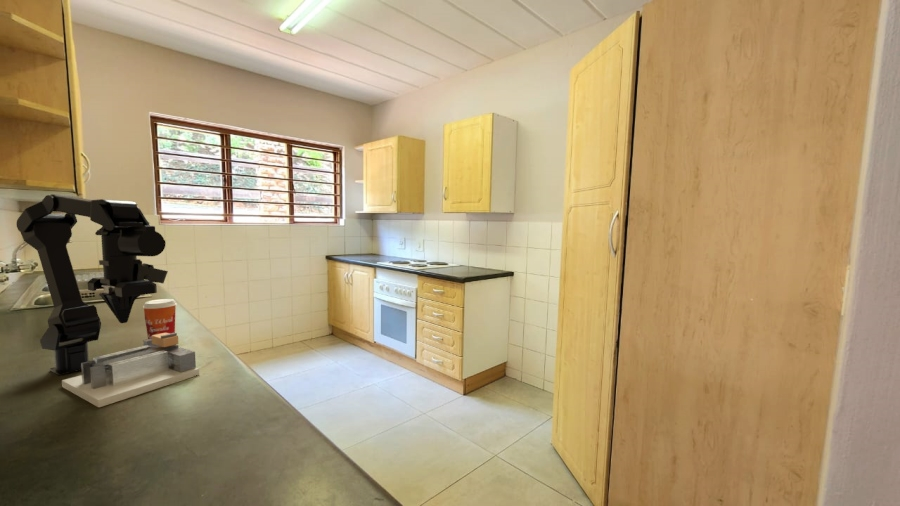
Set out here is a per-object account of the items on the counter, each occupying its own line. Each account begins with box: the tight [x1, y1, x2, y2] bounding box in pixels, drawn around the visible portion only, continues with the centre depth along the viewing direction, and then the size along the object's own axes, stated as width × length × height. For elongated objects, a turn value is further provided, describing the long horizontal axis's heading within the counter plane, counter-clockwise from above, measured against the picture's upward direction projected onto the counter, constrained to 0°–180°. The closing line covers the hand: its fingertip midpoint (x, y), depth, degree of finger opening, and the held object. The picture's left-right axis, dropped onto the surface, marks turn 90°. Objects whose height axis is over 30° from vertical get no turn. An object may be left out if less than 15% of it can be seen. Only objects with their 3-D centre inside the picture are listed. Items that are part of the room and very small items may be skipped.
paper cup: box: [142, 298, 178, 339], centre depth 103 cm, size 8×8×14 cm
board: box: [61, 367, 200, 408], centre depth 82 cm, size 19×18×2 cm
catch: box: [152, 332, 179, 347], centre depth 89 cm, size 6×3×3 cm, turn 62°
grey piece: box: [80, 338, 197, 389], centre depth 83 cm, size 18×16×5 cm
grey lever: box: [92, 344, 180, 369], centre depth 83 cm, size 3×15×1 cm, turn 152°
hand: (123, 322), depth 83 cm, fingers closed
